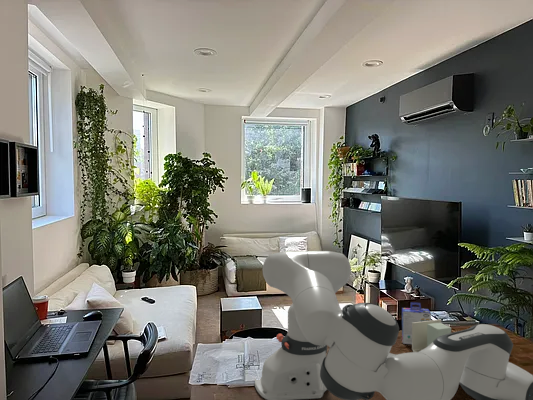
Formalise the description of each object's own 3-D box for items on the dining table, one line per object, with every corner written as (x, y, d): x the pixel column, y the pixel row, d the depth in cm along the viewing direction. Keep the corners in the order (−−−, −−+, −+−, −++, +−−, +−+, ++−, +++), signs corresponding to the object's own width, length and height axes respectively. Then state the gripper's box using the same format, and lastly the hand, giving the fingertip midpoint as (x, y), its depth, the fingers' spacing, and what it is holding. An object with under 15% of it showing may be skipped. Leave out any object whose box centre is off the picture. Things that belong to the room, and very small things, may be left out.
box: (437, 370, 122) (438, 329, 121) (426, 363, 126) (427, 324, 126) (450, 368, 123) (451, 327, 122) (439, 361, 128) (440, 322, 127)
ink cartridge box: (428, 340, 145) (429, 302, 144) (431, 346, 140) (432, 307, 139) (401, 338, 147) (401, 300, 147) (402, 344, 142) (403, 305, 141)
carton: (446, 383, 113) (447, 341, 113) (411, 359, 129) (412, 322, 129) (477, 377, 116) (478, 337, 116) (439, 355, 132) (440, 319, 132)
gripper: (451, 382, 105) (418, 360, 119) (510, 372, 111) (472, 352, 124) (451, 359, 105) (418, 340, 119) (510, 350, 111) (472, 333, 124)
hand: (446, 346), depth 122 cm, fingers open, 8 cm apart
